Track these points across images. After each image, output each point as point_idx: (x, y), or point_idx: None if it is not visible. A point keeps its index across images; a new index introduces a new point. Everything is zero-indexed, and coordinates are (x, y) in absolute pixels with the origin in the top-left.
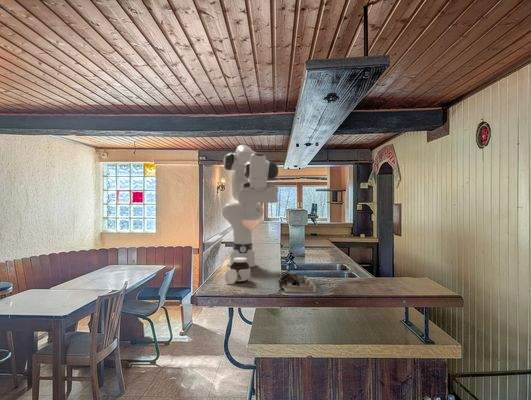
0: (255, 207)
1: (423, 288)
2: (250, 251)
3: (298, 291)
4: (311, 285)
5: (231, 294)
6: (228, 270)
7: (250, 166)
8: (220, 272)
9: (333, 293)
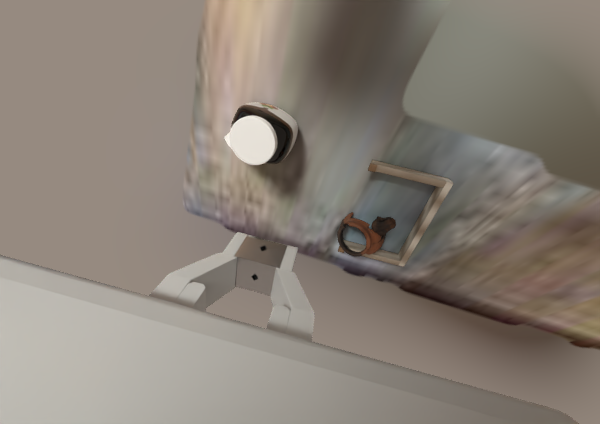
0: (221, 290)
1: None
2: None
3: None
4: (404, 252)
5: (242, 223)
6: (228, 144)
7: None
8: None
9: (425, 276)
